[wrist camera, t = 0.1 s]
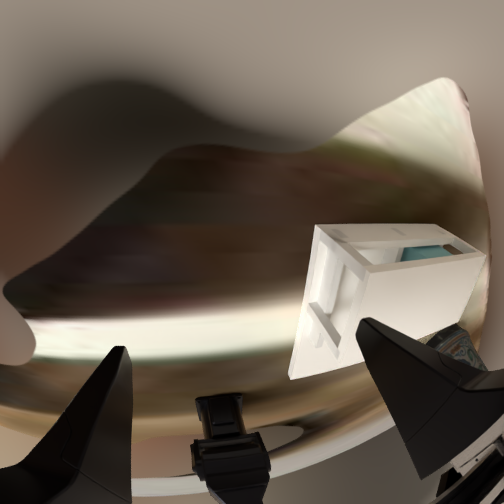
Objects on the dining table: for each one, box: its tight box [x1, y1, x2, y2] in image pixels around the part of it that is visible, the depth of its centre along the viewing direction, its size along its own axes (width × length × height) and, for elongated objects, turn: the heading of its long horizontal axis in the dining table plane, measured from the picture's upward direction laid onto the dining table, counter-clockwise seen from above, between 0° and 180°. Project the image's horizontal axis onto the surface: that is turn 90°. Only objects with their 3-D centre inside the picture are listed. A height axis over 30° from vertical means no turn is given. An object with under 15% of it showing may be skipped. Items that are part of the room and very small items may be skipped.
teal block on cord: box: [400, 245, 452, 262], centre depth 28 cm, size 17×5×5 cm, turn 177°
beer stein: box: [425, 324, 488, 371], centre depth 35 cm, size 16×19×25 cm
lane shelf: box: [288, 224, 486, 380], centre depth 27 cm, size 21×18×9 cm
